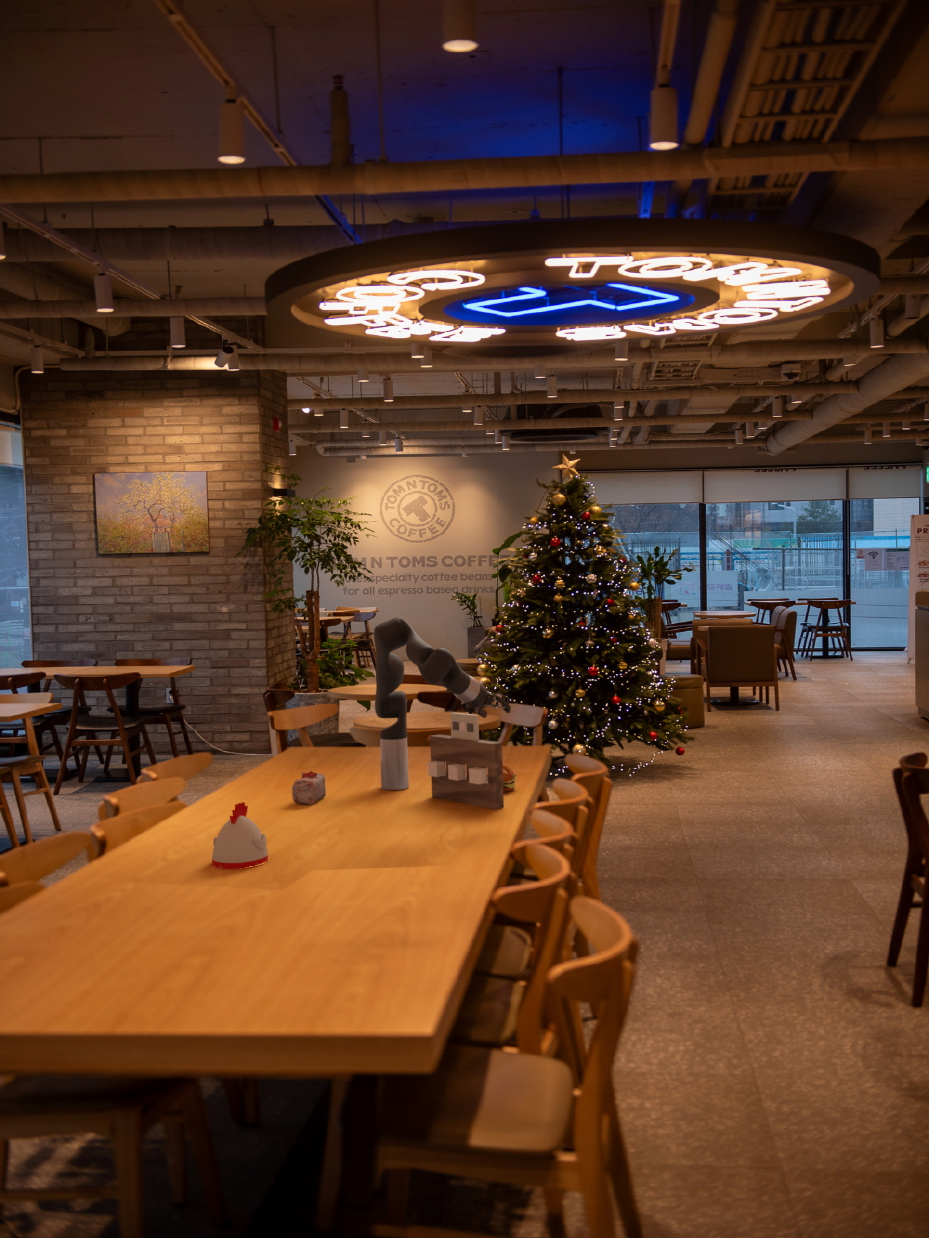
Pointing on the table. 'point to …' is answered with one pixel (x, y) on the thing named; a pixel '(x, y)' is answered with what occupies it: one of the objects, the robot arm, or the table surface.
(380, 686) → the robot arm
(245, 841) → the kitchen timer
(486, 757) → the console
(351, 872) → the table surface
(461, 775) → the middle button
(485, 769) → the right button
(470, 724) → the pattern sign
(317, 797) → the food item
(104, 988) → the table surface
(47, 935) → the table surface
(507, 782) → the cheeseburger
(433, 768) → the left button
